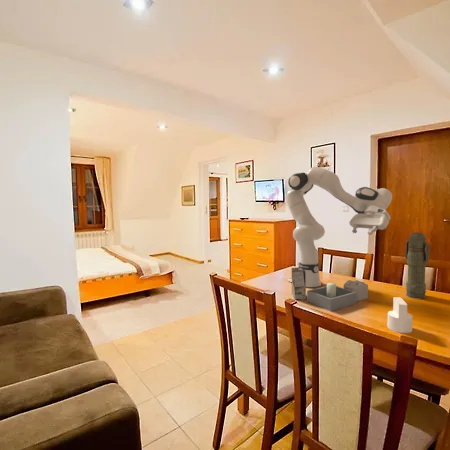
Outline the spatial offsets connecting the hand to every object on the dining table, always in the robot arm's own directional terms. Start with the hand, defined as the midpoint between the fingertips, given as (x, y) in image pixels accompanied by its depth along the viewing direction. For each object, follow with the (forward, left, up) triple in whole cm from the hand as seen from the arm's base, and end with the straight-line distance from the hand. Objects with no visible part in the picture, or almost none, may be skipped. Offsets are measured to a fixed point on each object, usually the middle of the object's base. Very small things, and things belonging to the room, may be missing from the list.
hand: (361, 233), depth 153 cm
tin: (-6, -16, -35) cm, 39 cm away
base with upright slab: (+30, -16, -37) cm, 50 cm away
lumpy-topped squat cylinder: (-5, +1, -37) cm, 37 cm away
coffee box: (-22, -25, -37) cm, 49 cm away
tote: (-6, -16, -36) cm, 40 cm away
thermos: (+12, +29, -37) cm, 49 cm away
